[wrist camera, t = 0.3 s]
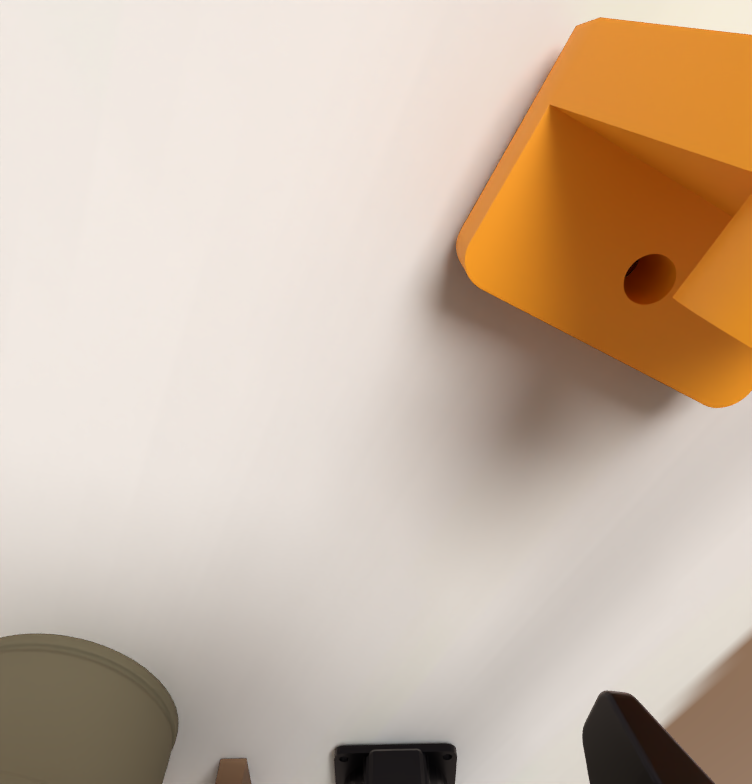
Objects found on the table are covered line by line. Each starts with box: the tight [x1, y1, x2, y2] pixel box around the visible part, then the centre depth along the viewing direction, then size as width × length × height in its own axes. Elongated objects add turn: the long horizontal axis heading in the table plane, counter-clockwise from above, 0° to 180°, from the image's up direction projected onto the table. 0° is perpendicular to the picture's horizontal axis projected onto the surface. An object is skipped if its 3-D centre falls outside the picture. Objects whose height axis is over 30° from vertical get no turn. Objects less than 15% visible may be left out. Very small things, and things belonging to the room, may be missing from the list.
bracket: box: [456, 17, 752, 408], centre depth 14 cm, size 11×7×12 cm, turn 63°
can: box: [0, 634, 178, 784], centre depth 27 cm, size 12×12×7 cm
